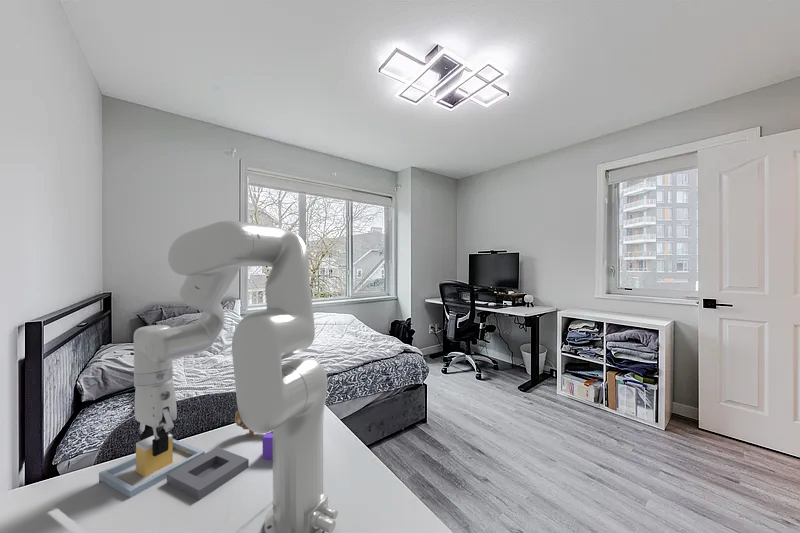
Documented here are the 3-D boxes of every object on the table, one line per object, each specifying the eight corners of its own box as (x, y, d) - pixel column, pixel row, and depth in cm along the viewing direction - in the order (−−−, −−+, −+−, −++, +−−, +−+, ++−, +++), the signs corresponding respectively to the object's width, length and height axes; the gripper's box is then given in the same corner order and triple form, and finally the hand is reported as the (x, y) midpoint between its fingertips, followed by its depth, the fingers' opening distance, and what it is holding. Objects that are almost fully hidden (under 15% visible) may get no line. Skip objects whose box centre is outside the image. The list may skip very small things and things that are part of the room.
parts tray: (204, 460, 82) (204, 451, 82) (130, 502, 68) (130, 491, 68) (173, 447, 88) (173, 438, 88) (99, 482, 74) (98, 472, 74)
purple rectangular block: (288, 465, 81) (288, 438, 81) (262, 464, 81) (262, 437, 81) (305, 439, 93) (305, 415, 93) (282, 438, 93) (282, 415, 93)
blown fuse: (172, 462, 80) (172, 435, 80) (144, 476, 75) (145, 447, 74) (163, 457, 82) (163, 430, 82) (135, 471, 76) (136, 442, 76)
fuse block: (248, 471, 78) (248, 459, 78) (199, 504, 67) (199, 490, 67) (217, 458, 83) (217, 447, 83) (166, 487, 72) (166, 474, 72)
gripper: (190, 376, 78) (191, 451, 78) (152, 367, 85) (152, 435, 85) (155, 387, 71) (156, 468, 71) (117, 376, 78) (118, 449, 78)
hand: (154, 449), depth 78 cm, fingers open, 4 cm apart
